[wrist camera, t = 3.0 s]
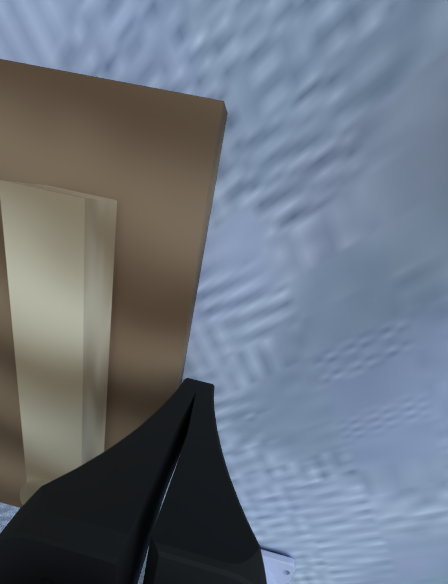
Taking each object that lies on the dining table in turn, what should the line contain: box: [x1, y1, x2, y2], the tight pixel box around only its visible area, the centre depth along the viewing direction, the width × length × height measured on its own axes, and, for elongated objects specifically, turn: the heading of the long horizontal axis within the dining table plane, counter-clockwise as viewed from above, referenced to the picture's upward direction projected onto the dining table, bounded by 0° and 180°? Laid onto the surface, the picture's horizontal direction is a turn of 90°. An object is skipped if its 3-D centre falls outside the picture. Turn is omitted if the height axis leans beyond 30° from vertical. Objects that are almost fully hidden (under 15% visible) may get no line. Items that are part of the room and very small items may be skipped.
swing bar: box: [0, 180, 117, 505], centre depth 12 cm, size 18×4×3 cm, turn 169°
